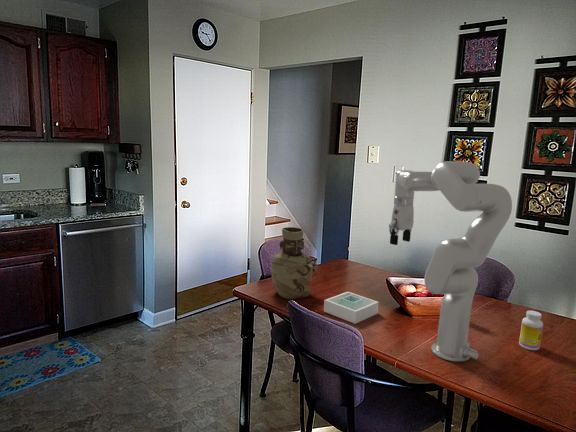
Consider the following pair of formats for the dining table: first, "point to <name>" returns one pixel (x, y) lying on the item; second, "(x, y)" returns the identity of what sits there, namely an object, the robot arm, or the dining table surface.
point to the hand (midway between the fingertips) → (400, 242)
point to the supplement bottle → (531, 331)
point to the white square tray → (349, 314)
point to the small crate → (352, 302)
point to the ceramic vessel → (292, 266)
